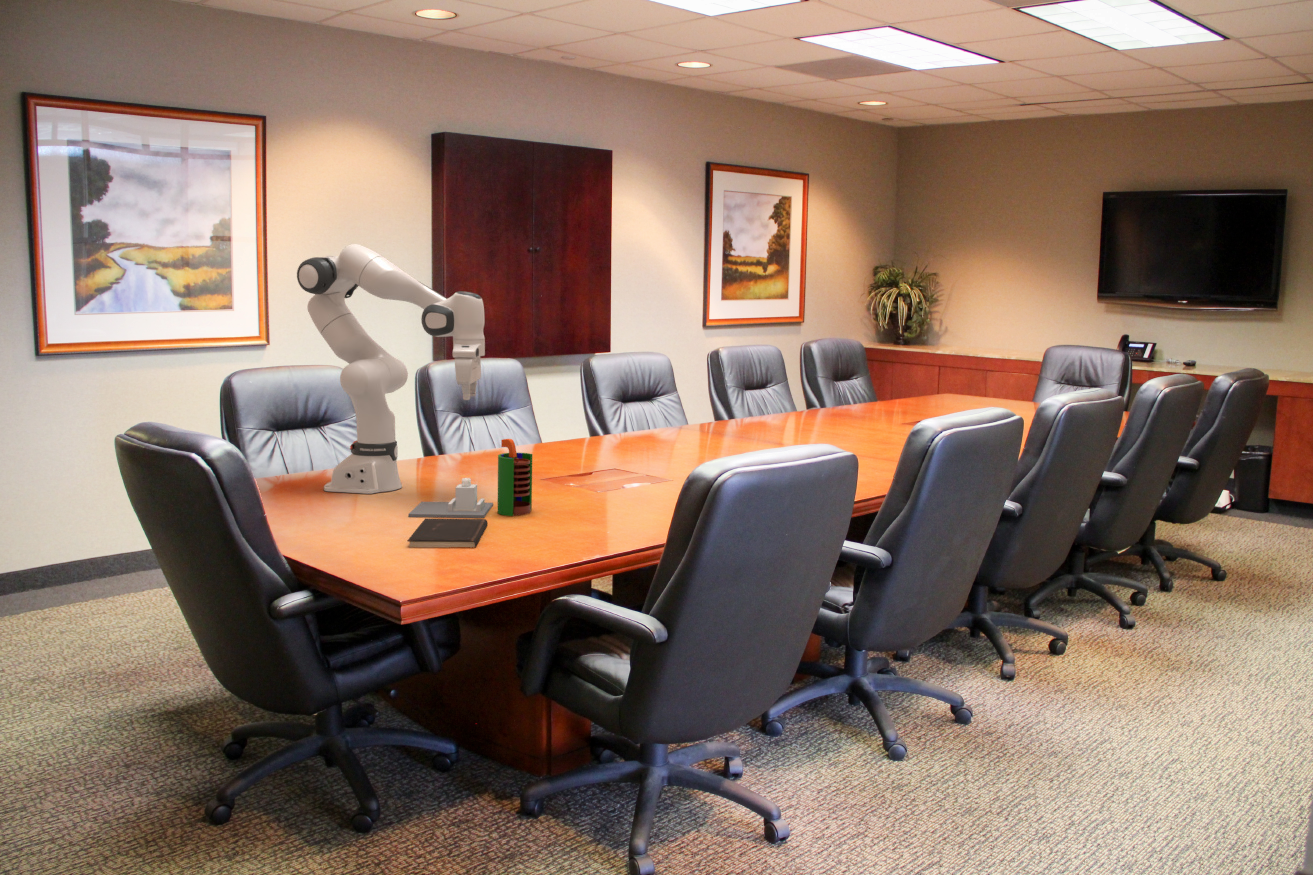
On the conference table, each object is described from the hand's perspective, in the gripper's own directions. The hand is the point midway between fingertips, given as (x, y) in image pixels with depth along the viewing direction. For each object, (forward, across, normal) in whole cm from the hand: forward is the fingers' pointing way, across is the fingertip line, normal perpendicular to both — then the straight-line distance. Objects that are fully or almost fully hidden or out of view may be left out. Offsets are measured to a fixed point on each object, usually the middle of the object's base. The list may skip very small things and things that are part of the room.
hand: (469, 398), depth 303 cm
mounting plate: (+29, +18, -2) cm, 34 cm away
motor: (+29, +18, +15) cm, 37 cm away
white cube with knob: (+28, +18, +2) cm, 33 cm away
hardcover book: (+30, +46, +3) cm, 55 cm away
